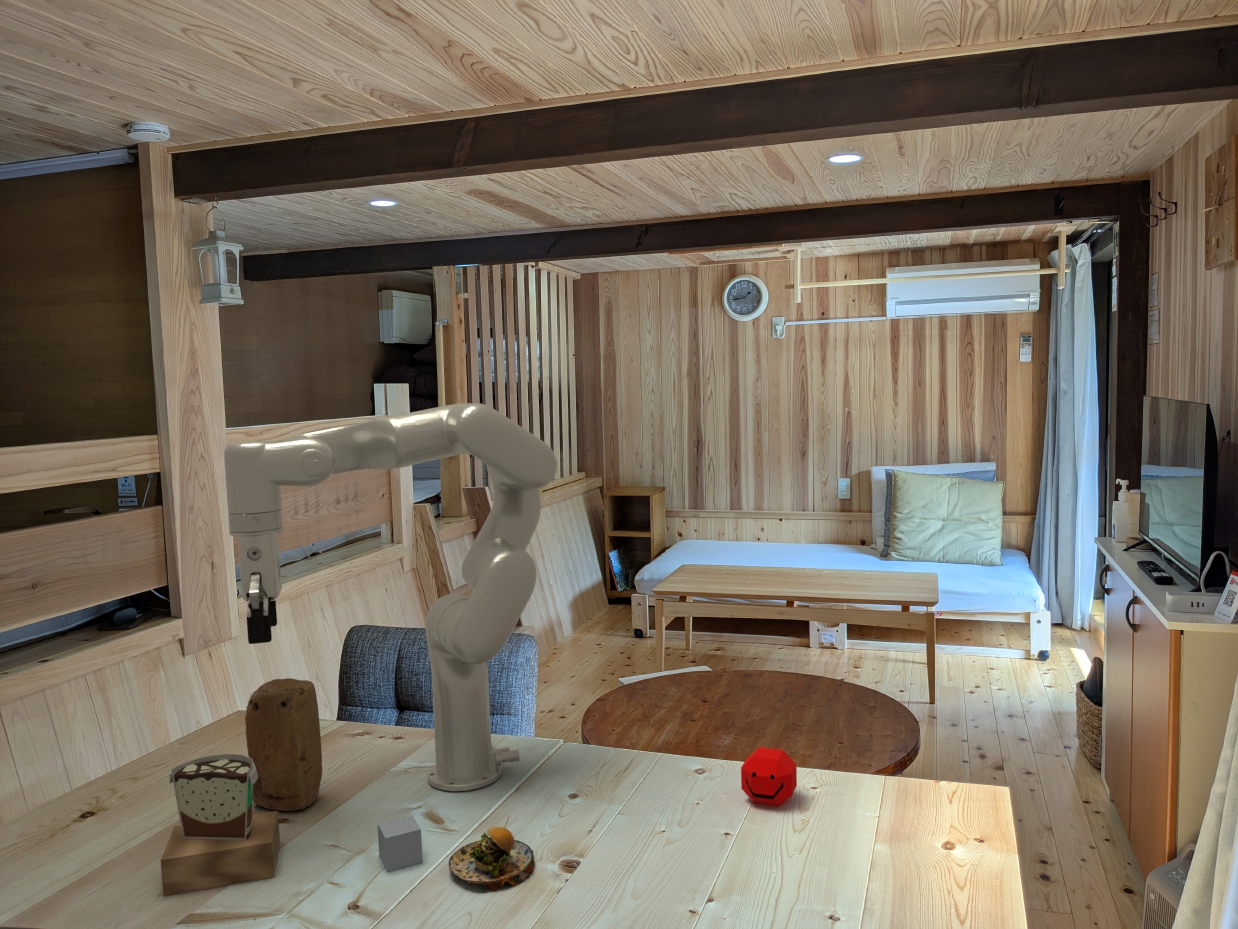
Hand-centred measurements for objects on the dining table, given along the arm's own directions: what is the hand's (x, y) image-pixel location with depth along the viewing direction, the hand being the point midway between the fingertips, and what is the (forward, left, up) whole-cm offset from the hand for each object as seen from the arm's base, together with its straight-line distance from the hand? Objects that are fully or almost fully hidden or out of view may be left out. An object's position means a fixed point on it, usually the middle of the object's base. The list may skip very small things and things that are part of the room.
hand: (263, 634), depth 138 cm
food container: (+6, +10, -26) cm, 28 cm away
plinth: (+6, +11, -30) cm, 33 cm away
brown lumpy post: (-1, -8, -31) cm, 32 cm away
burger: (-30, +24, -31) cm, 49 cm away
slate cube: (-18, +17, -30) cm, 39 cm away
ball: (-75, +18, -31) cm, 83 cm away
